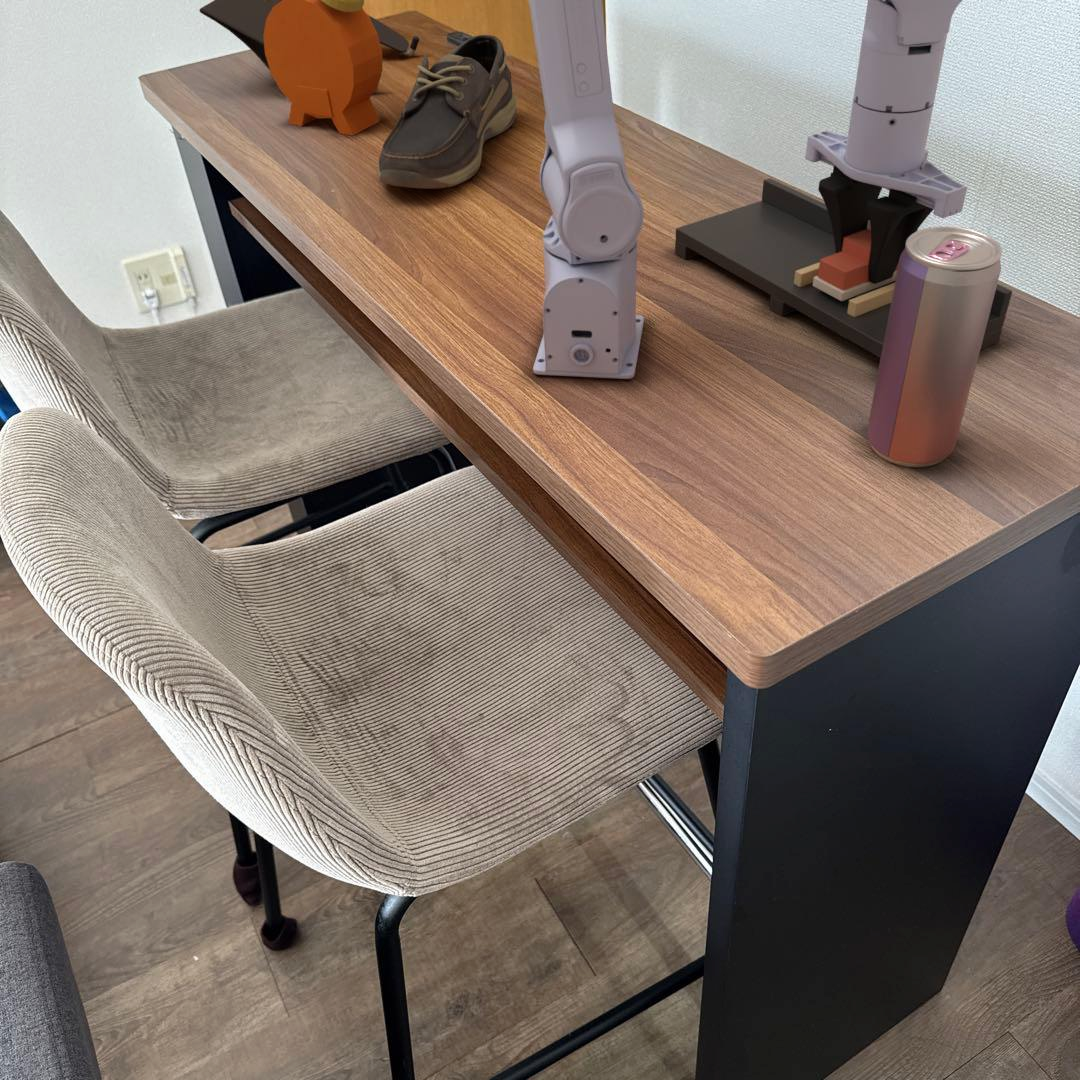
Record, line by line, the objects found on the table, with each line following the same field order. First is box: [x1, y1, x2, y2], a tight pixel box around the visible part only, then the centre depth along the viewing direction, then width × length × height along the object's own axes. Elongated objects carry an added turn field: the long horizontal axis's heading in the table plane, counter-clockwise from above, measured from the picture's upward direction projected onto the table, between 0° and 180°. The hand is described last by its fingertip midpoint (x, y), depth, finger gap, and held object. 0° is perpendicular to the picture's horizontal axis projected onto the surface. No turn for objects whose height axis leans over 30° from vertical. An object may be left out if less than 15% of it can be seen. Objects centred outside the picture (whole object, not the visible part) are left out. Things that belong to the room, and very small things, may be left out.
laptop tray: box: [198, 0, 420, 93], centre depth 143 cm, size 23×23×9 cm
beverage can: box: [866, 225, 1003, 468], centre depth 70 cm, size 6×6×15 cm
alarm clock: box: [263, 0, 383, 136], centre depth 123 cm, size 13×6×20 cm, turn 59°
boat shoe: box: [377, 34, 518, 190], centre depth 117 cm, size 11×29×11 cm, turn 166°
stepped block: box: [813, 220, 919, 301], centre depth 86 cm, size 8×3×4 cm, turn 122°
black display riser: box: [674, 178, 1013, 359], centre depth 90 cm, size 28×11×4 cm, turn 32°
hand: (864, 271), depth 86 cm, fingers closed on stepped block, 3 cm apart
